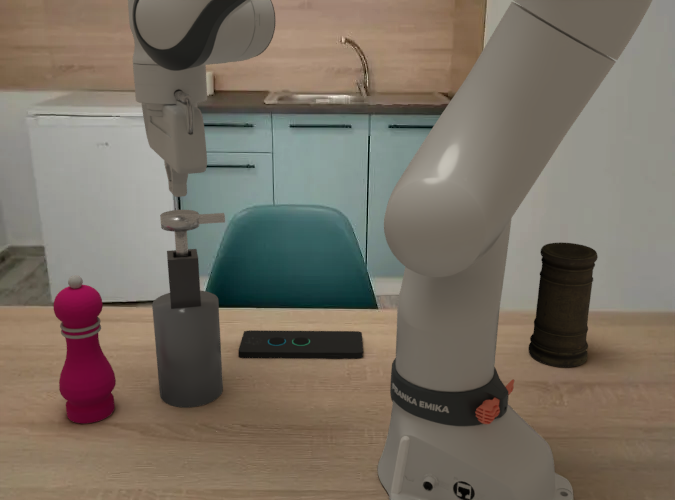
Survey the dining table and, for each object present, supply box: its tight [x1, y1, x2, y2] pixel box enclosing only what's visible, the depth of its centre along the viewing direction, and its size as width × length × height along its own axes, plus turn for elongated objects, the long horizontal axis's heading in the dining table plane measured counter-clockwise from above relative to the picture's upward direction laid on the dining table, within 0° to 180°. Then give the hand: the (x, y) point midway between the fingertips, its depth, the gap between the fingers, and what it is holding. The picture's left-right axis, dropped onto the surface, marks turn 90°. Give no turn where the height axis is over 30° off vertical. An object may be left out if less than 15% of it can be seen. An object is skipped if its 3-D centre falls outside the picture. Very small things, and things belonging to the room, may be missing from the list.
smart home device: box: [237, 329, 364, 360], centre depth 114 cm, size 8×2×20 cm
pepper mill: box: [53, 274, 117, 424], centre depth 92 cm, size 7×7×20 cm
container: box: [528, 242, 599, 368], centre depth 110 cm, size 9×9×18 cm
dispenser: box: [151, 248, 224, 409], centre depth 97 cm, size 9×9×21 cm
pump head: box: [160, 209, 226, 258], centre depth 94 cm, size 8×5×9 cm, turn 104°
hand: (178, 194), depth 91 cm, fingers closed
